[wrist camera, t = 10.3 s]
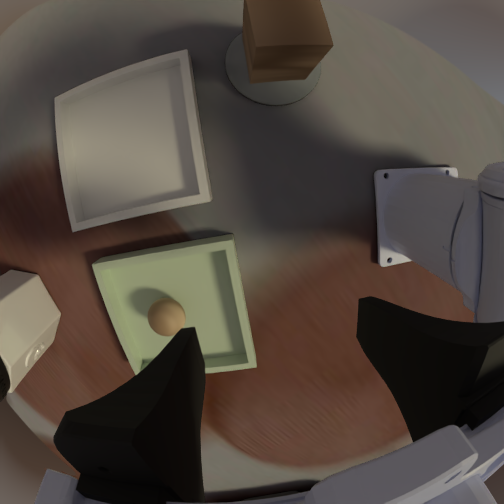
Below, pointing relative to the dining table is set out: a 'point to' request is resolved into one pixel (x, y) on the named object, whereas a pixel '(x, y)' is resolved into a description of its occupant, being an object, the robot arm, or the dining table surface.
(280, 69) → the walnut block
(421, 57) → the dining table surface
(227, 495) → the dining table surface
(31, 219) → the dining table surface
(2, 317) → the jar
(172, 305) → the cork ball
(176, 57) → the grey box
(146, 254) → the green box
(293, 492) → the bluetooth speaker
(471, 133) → the dining table surface
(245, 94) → the slate coaster
